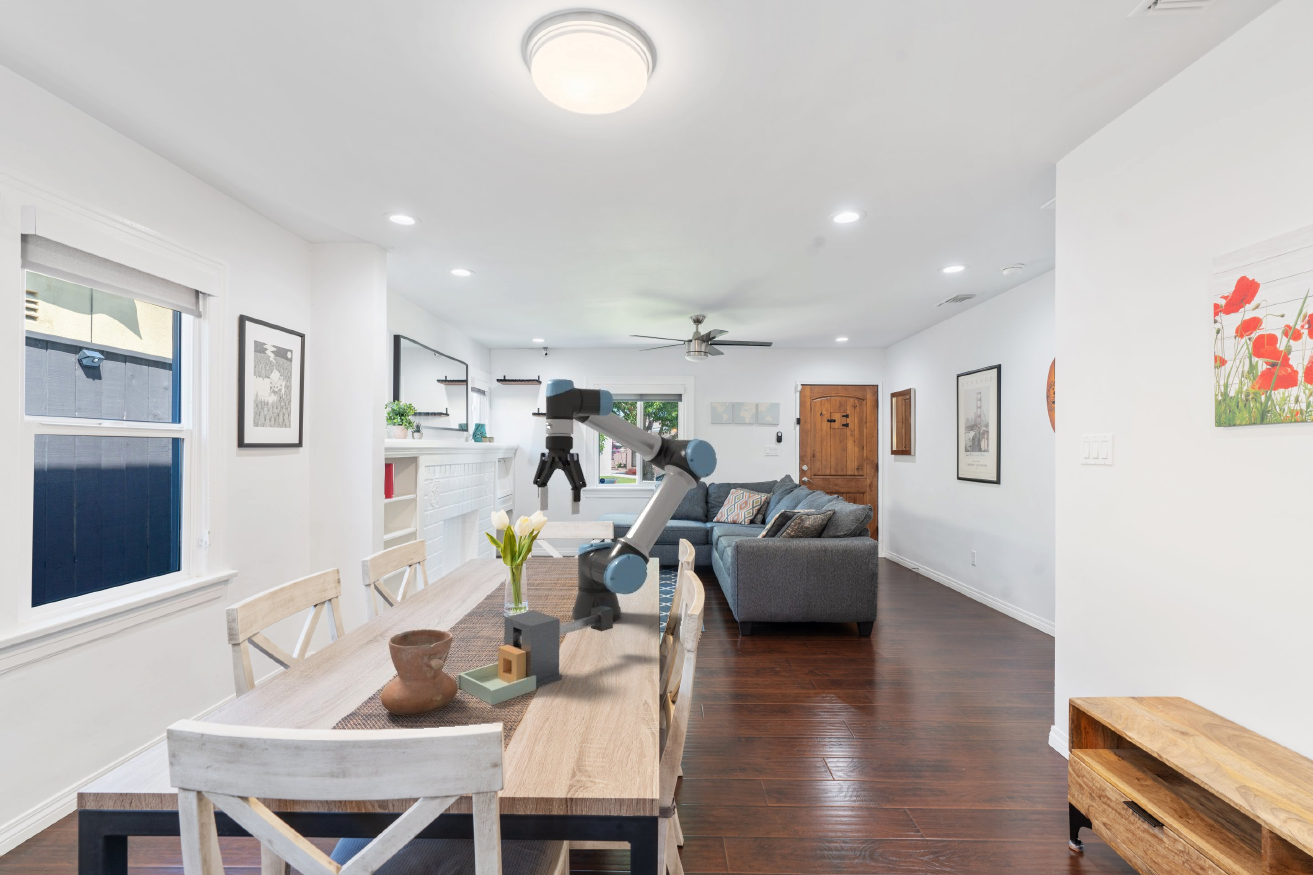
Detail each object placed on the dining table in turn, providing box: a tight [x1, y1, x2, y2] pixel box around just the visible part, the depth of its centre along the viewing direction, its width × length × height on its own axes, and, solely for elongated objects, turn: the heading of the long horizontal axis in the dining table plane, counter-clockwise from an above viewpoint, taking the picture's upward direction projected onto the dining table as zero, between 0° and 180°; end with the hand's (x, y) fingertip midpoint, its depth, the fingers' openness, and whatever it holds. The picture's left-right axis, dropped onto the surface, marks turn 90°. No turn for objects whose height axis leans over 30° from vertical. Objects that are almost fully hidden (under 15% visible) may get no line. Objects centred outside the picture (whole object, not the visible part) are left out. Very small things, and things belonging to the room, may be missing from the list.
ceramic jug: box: [380, 628, 459, 717], centre depth 124 cm, size 18×14×14 cm
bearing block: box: [503, 610, 563, 689], centre depth 140 cm, size 8×12×14 cm, turn 48°
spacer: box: [497, 645, 526, 683], centre depth 136 cm, size 2×7×7 cm, turn 48°
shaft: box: [517, 606, 614, 646], centre depth 148 cm, size 27×4×5 cm, turn 138°
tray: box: [456, 661, 537, 706], centre depth 133 cm, size 11×13×3 cm
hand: (558, 512), depth 169 cm, fingers open, 13 cm apart
